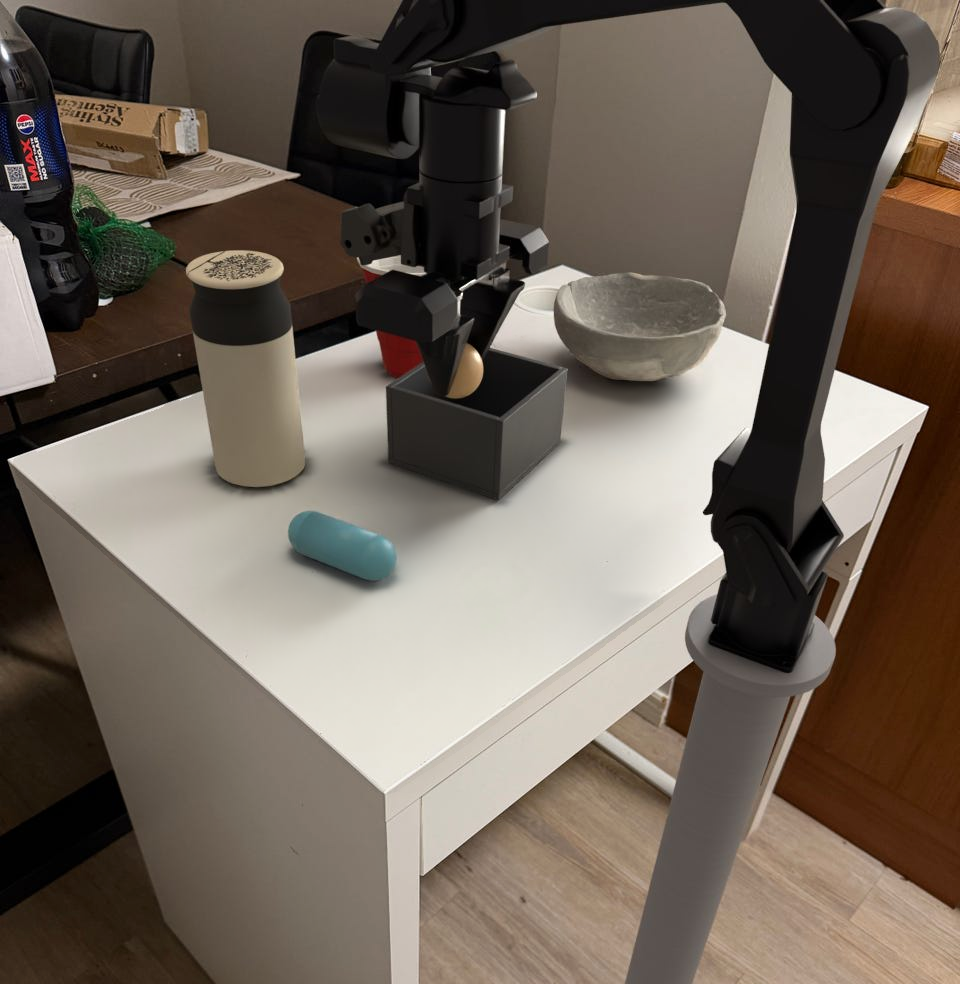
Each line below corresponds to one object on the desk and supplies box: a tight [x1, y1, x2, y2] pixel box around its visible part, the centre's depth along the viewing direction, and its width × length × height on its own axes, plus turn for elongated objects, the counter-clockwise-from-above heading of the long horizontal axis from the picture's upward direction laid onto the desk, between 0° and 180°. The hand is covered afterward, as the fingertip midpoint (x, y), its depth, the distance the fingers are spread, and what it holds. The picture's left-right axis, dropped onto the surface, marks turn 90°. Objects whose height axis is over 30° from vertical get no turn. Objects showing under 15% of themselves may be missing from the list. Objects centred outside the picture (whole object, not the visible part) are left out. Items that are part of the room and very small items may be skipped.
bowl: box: [553, 272, 727, 382], centre depth 102 cm, size 18×18×8 cm
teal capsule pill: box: [287, 510, 398, 582], centre depth 74 cm, size 10×4×4 cm, turn 60°
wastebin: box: [385, 347, 569, 501], centre depth 87 cm, size 12×12×8 cm
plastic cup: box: [356, 255, 426, 379], centre depth 99 cm, size 11×11×12 cm
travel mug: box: [185, 249, 306, 488], centre depth 80 cm, size 8×8×18 cm
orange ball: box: [428, 343, 483, 398], centre depth 75 cm, size 4×4×4 cm
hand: (455, 383), depth 75 cm, fingers closed on orange ball, 4 cm apart
